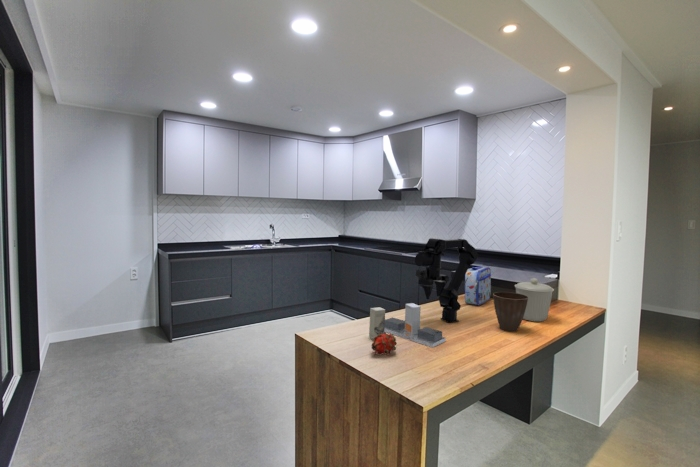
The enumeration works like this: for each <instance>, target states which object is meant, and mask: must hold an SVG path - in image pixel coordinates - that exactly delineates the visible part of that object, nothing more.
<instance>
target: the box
mask: <svg viewBox="0 0 700 467" xmlns="http://www.w3.org/2000/svg"><path fill="white" fill-rule="evenodd" d="M369 311H370V312H369V332H368V338H369V339H371V341H373V339H374V338H375V337H377V336H378V335H379V334H384V329H385V320H386V309H384V308H382V307H370V310H369Z"/></svg>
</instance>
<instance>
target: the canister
mask: <svg viewBox="0 0 700 467" xmlns="http://www.w3.org/2000/svg"><path fill="white" fill-rule="evenodd" d="M514 288H515V293H518V294H523V295H526V296H527V297H528V301H527V306H526V310H525V314H524V317H523V319H522V320H525V321H530V322H544V321H546V320H547V319H548V316H549V313H550V312H549V311H550V307H551V302H552V297H553V292H554V291H555V289H554V288H553V287H551V286H550V285H548V284H544V283H540V282H539V280H538V279H537V278H535V277H533V278H531V279H530V280H529V281H523V282H518V283H517V284H516V283H515V284H514Z"/></svg>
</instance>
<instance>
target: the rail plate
mask: <svg viewBox="0 0 700 467" xmlns="http://www.w3.org/2000/svg"><path fill="white" fill-rule="evenodd" d="M384 332H386V334H393V336H395V337H399V338H402V339H405V340H408V341H412V342H415V343H418V344H421V345H424V346H426V347H430V348H435V347H437V346H439V345H441V344H443V343H445V342H446V340H447V338H446V337H444V336H443V331H441V330H438V329H435V328H431V327H427V326H424V327H422V328H420V329H419V330H418V334H414V335H411V334H410V333H408V332H407V331H405V320H404V319H399V318H396V317H388V318H385V329H384Z"/></svg>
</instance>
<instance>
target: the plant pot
mask: <svg viewBox="0 0 700 467" xmlns="http://www.w3.org/2000/svg"><path fill="white" fill-rule="evenodd" d="M492 297H493V305H494V311H495V315H496V319H497V323H498V325H499V328H500V329H501V330H502V331H505V332H512V333H513V332H517V331H518V330H519V328H520V326H521V325H522V324H521V323H522V321H523V320H524V319H523V317H524V314H525V310H526V306H527V301H528V297H527V296H526V295H523V294H518V293H516V292H510V291H496V292H493V293H492Z"/></svg>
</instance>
